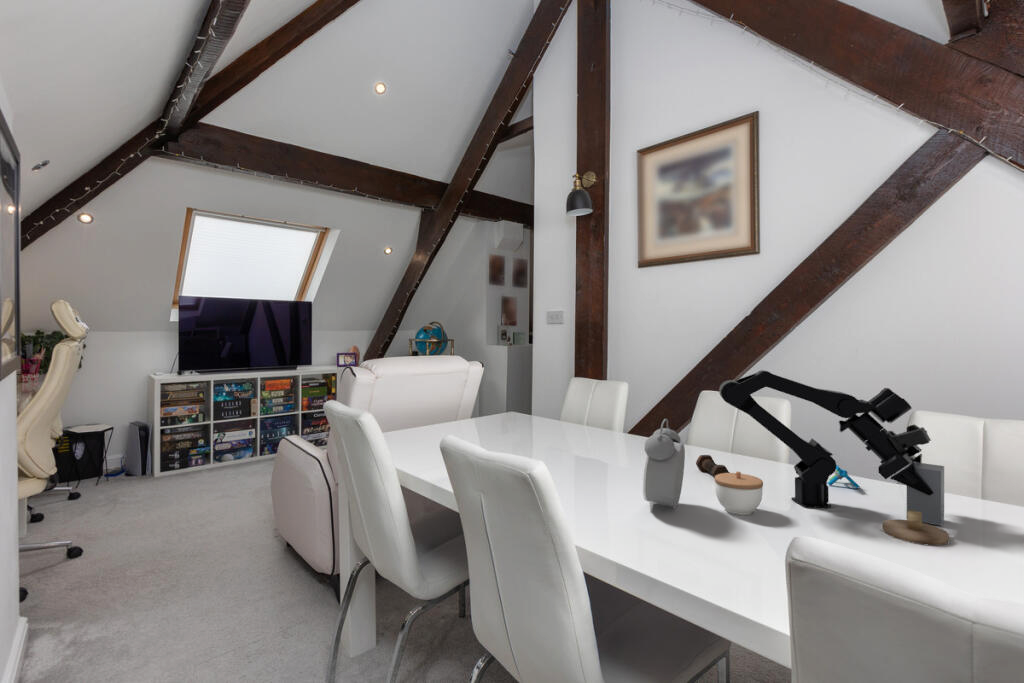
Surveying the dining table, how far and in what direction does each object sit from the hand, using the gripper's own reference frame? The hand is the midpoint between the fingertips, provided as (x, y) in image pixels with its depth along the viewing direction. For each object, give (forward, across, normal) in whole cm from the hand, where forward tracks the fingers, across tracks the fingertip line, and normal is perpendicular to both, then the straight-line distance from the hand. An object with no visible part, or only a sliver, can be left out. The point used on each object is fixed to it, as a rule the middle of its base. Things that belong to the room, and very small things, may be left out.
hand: (933, 491), depth 114 cm
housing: (+4, 0, +6) cm, 7 cm away
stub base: (+4, -12, +6) cm, 14 cm away
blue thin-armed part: (-10, +17, +20) cm, 28 cm away
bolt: (-31, +2, +41) cm, 52 cm away
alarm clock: (-29, -33, +39) cm, 59 cm away
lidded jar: (-19, -22, +29) cm, 42 cm away
